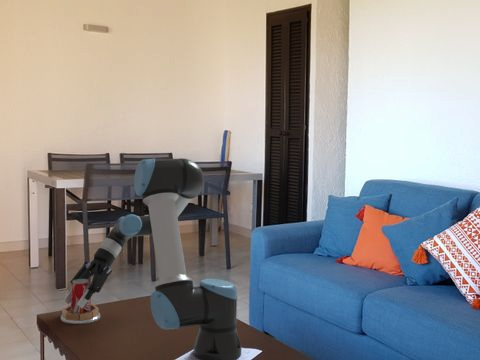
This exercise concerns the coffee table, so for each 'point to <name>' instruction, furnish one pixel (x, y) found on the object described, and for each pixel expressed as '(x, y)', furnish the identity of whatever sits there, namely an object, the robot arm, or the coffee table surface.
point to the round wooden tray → (80, 315)
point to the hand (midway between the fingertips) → (72, 304)
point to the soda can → (79, 295)
